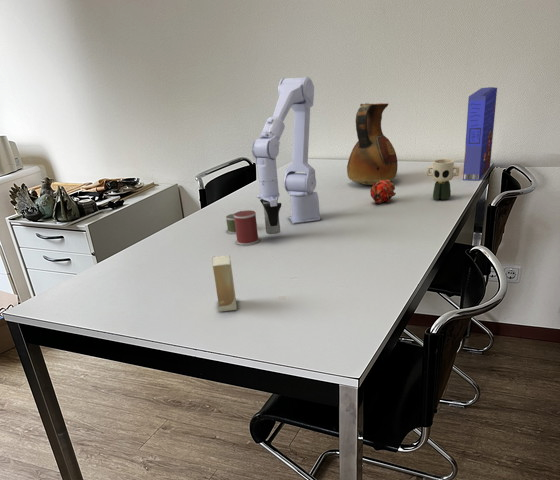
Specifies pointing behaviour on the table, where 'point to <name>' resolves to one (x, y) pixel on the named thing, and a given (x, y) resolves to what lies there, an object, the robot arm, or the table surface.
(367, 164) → the ceramic pitcher
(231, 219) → the short can
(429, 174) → the character mug
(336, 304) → the table surface
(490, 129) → the cereal box
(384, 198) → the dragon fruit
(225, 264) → the cosmetic box
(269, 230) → the planter
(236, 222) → the tall can
